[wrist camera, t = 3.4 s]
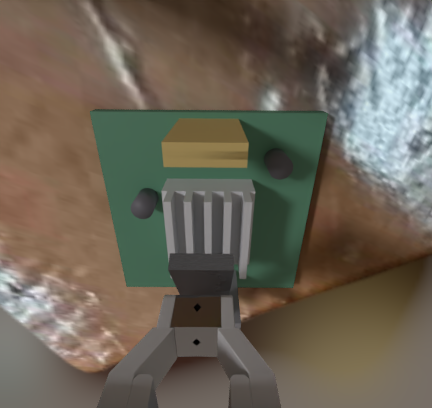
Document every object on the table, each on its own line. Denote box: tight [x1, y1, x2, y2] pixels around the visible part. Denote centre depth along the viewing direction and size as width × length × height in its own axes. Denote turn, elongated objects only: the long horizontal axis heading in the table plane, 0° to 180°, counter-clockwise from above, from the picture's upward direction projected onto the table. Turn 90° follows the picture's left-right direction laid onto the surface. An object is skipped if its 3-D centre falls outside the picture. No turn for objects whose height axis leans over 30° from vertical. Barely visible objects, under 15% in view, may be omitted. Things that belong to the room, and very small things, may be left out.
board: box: [90, 109, 328, 329], centre depth 23 cm, size 20×20×9 cm
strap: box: [168, 253, 234, 296], centre depth 19 cm, size 3×16×1 cm
